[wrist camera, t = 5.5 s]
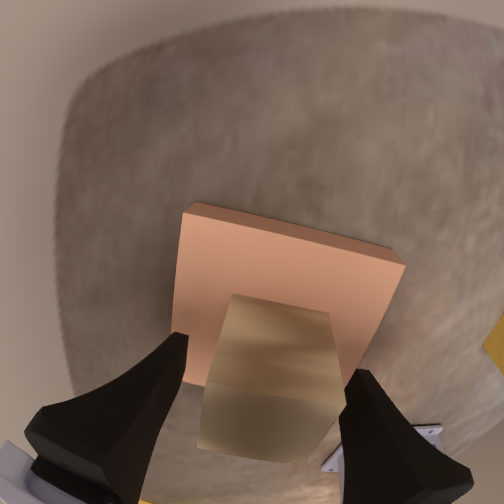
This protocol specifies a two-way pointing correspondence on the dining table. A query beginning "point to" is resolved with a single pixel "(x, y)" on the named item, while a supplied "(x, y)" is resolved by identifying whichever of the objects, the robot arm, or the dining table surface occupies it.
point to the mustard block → (496, 344)
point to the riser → (276, 280)
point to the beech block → (271, 382)
